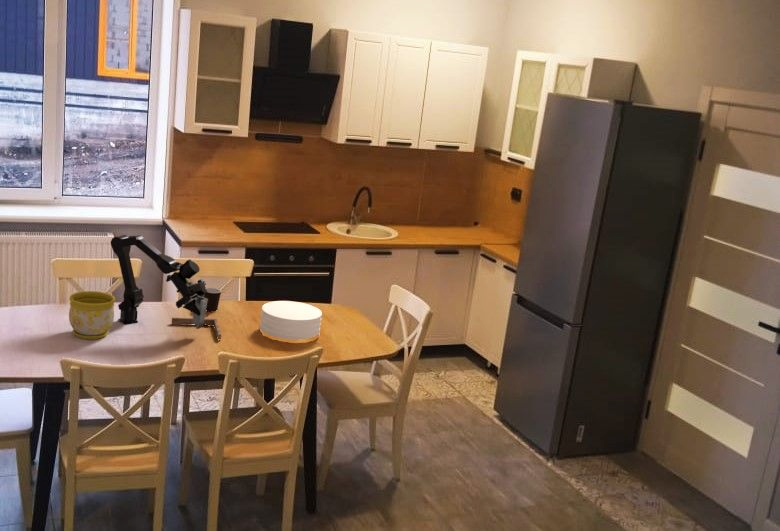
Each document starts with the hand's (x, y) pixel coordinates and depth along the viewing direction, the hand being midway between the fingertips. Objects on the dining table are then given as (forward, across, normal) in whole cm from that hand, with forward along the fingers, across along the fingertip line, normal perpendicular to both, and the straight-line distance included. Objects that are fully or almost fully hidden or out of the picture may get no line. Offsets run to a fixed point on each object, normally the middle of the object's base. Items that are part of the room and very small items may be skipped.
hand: (202, 313), depth 347 cm
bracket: (+2, 0, +6) cm, 7 cm away
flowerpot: (-19, -23, +36) cm, 47 cm away
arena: (+4, +6, +12) cm, 14 cm away
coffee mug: (-2, +40, +19) cm, 44 cm away
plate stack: (+29, +31, -13) cm, 45 cm away
